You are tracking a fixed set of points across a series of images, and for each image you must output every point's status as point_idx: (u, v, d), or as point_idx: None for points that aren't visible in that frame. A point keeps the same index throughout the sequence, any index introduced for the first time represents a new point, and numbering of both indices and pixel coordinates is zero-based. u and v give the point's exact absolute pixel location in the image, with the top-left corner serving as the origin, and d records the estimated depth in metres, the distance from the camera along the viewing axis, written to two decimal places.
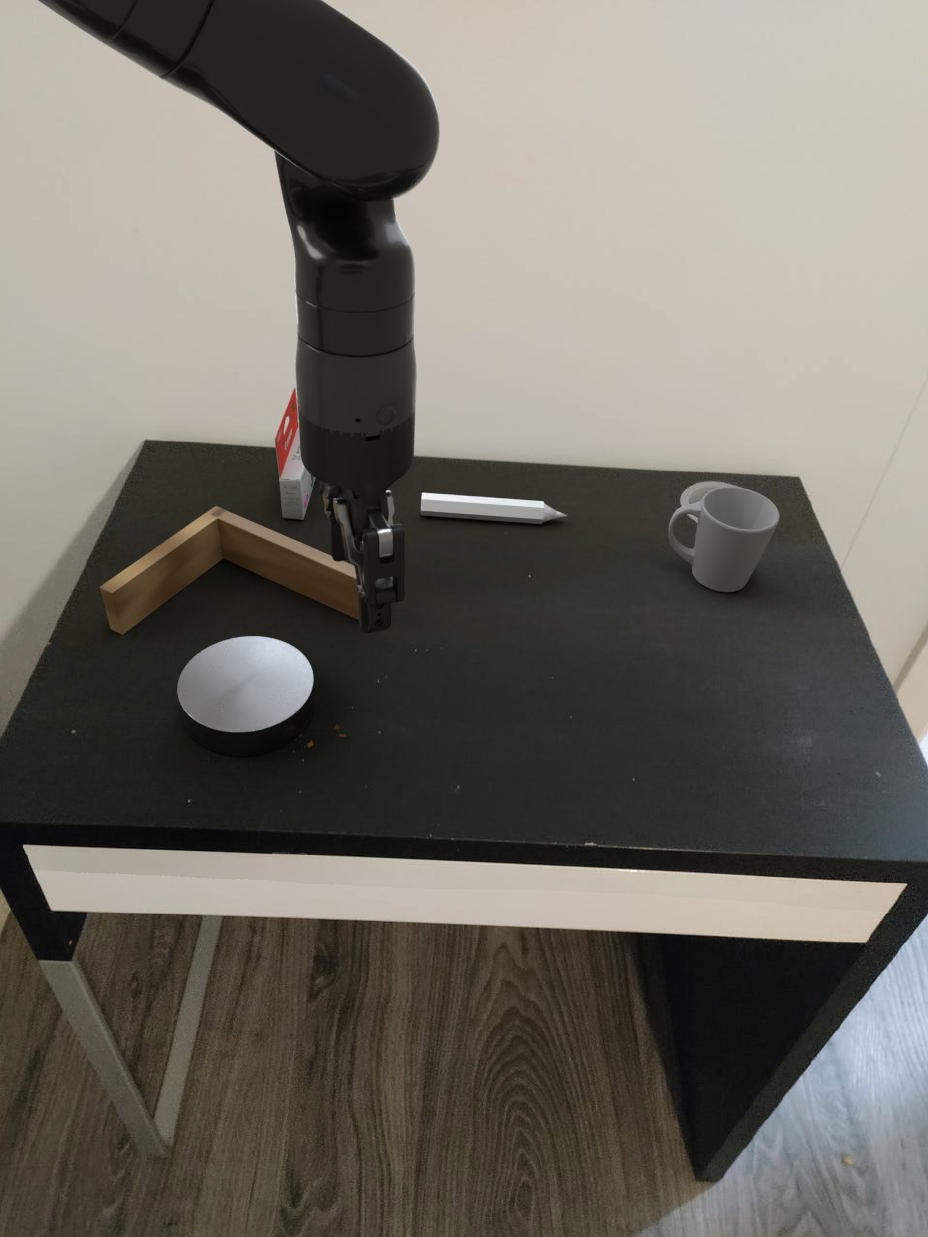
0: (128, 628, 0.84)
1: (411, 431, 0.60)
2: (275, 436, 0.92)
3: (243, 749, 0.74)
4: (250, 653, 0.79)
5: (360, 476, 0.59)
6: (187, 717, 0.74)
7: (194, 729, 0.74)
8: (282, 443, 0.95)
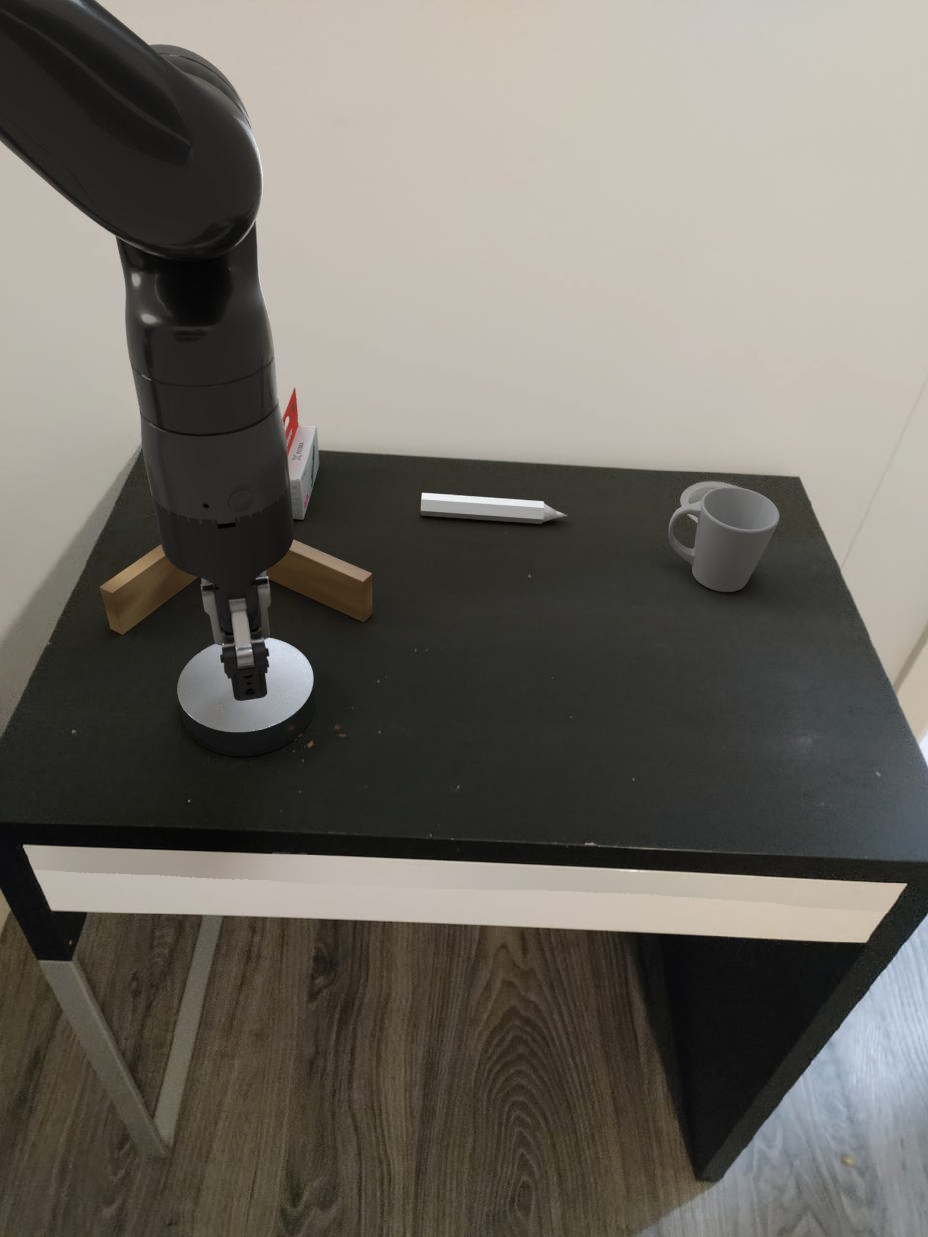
0: (128, 628, 0.84)
1: (281, 515, 0.51)
2: None
3: (243, 749, 0.74)
4: None
5: (217, 566, 0.51)
6: (187, 717, 0.74)
7: (194, 729, 0.74)
8: None
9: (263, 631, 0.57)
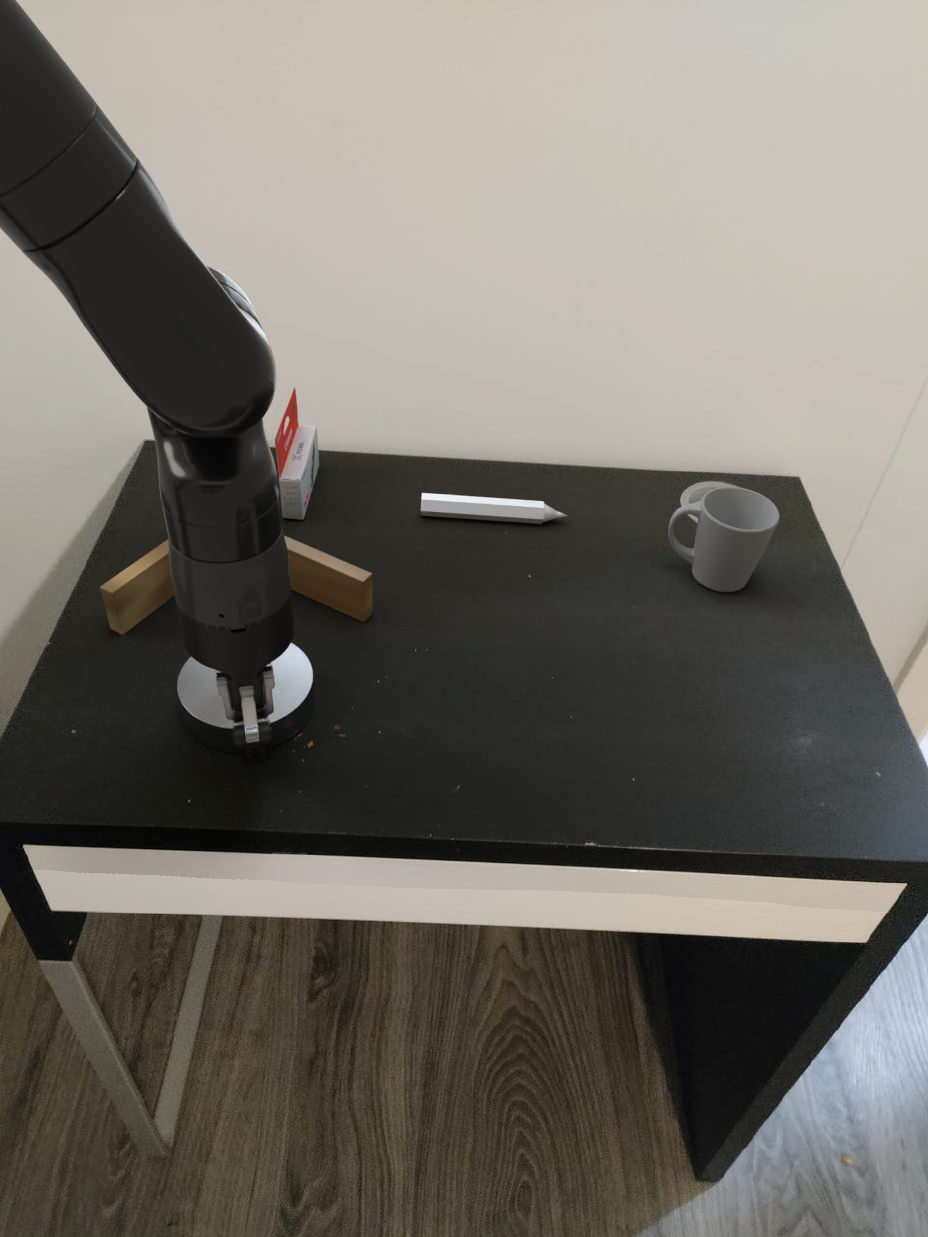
0: (128, 628, 0.84)
1: (284, 619, 0.61)
2: (275, 436, 0.92)
3: None
4: None
5: (230, 662, 0.61)
6: (187, 714, 0.74)
7: (194, 725, 0.74)
8: (282, 443, 0.95)
9: (267, 708, 0.67)
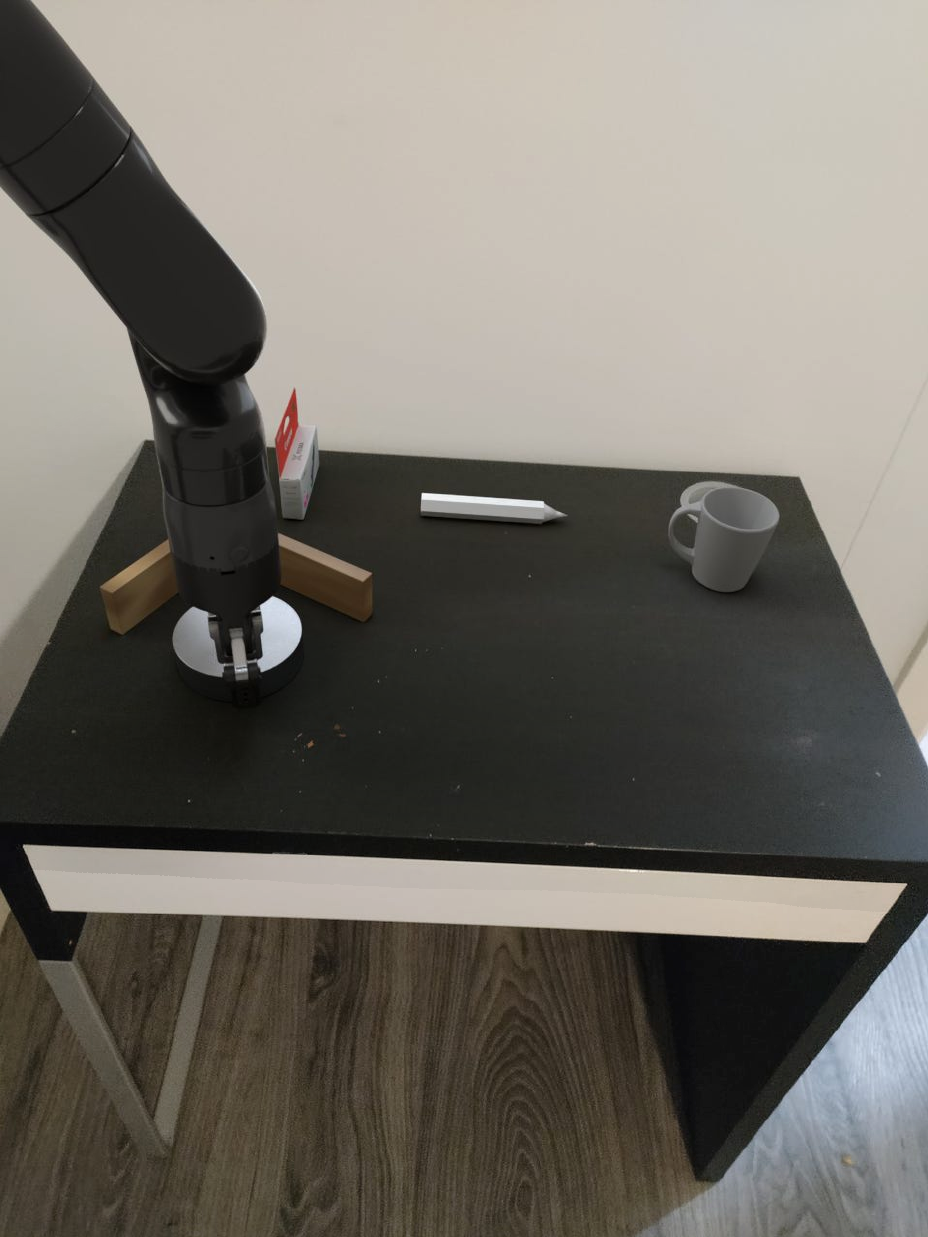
0: (128, 628, 0.84)
1: (271, 564, 0.65)
2: (275, 436, 0.92)
3: None
4: None
5: (220, 603, 0.65)
6: (182, 664, 0.78)
7: (188, 675, 0.78)
8: (282, 443, 0.95)
9: (257, 653, 0.71)
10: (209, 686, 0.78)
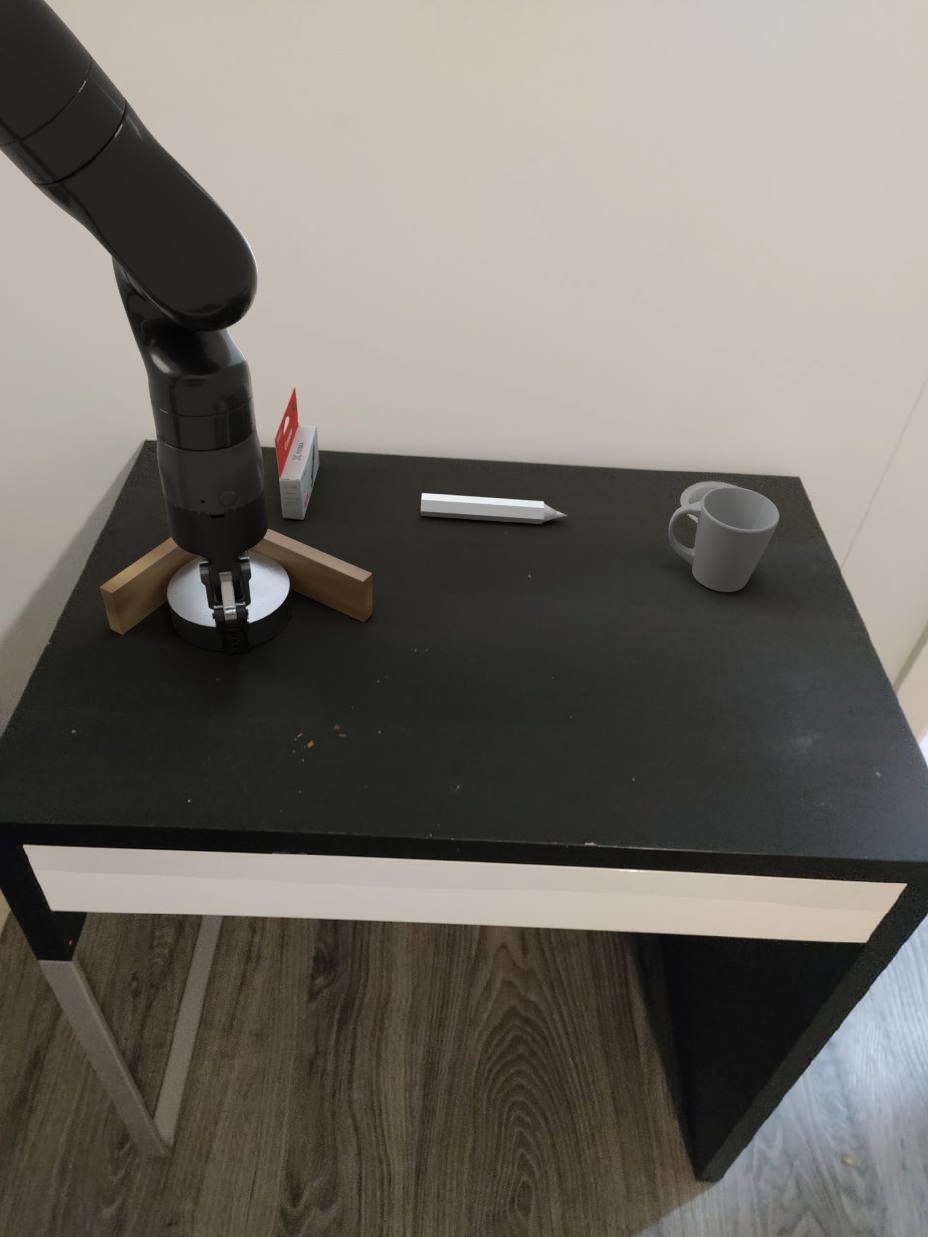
0: (128, 628, 0.84)
1: (258, 510, 0.70)
2: (275, 436, 0.92)
3: None
4: None
5: (210, 547, 0.69)
6: (175, 615, 0.83)
7: (181, 626, 0.83)
8: (282, 443, 0.95)
9: (245, 599, 0.76)
10: (201, 636, 0.82)
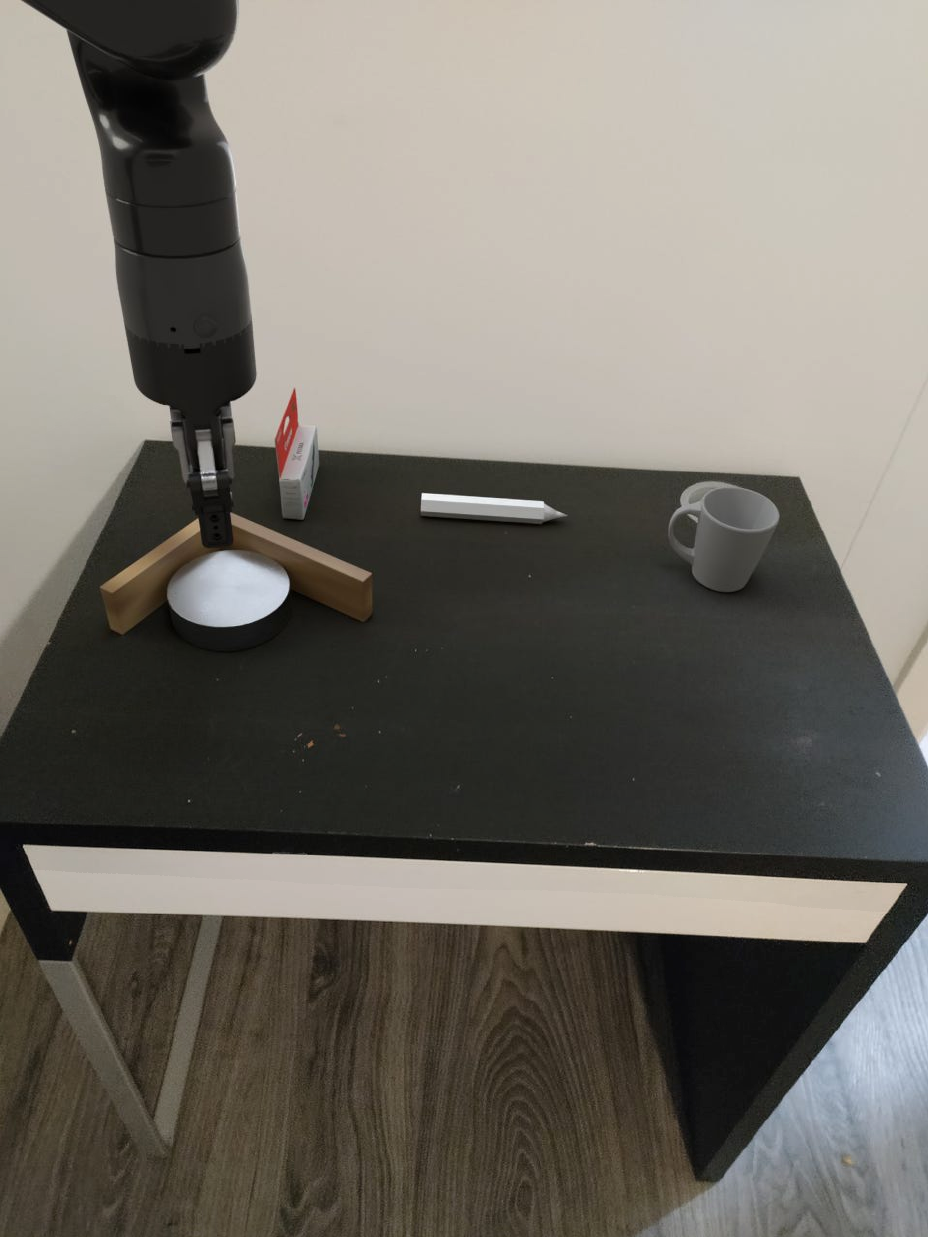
0: (128, 628, 0.84)
1: (243, 349, 0.56)
2: (275, 436, 0.92)
3: (225, 643, 0.83)
4: (234, 563, 0.88)
5: (184, 393, 0.56)
6: (175, 615, 0.83)
7: (181, 626, 0.83)
8: (282, 443, 0.95)
9: (228, 472, 0.62)
10: (201, 636, 0.82)
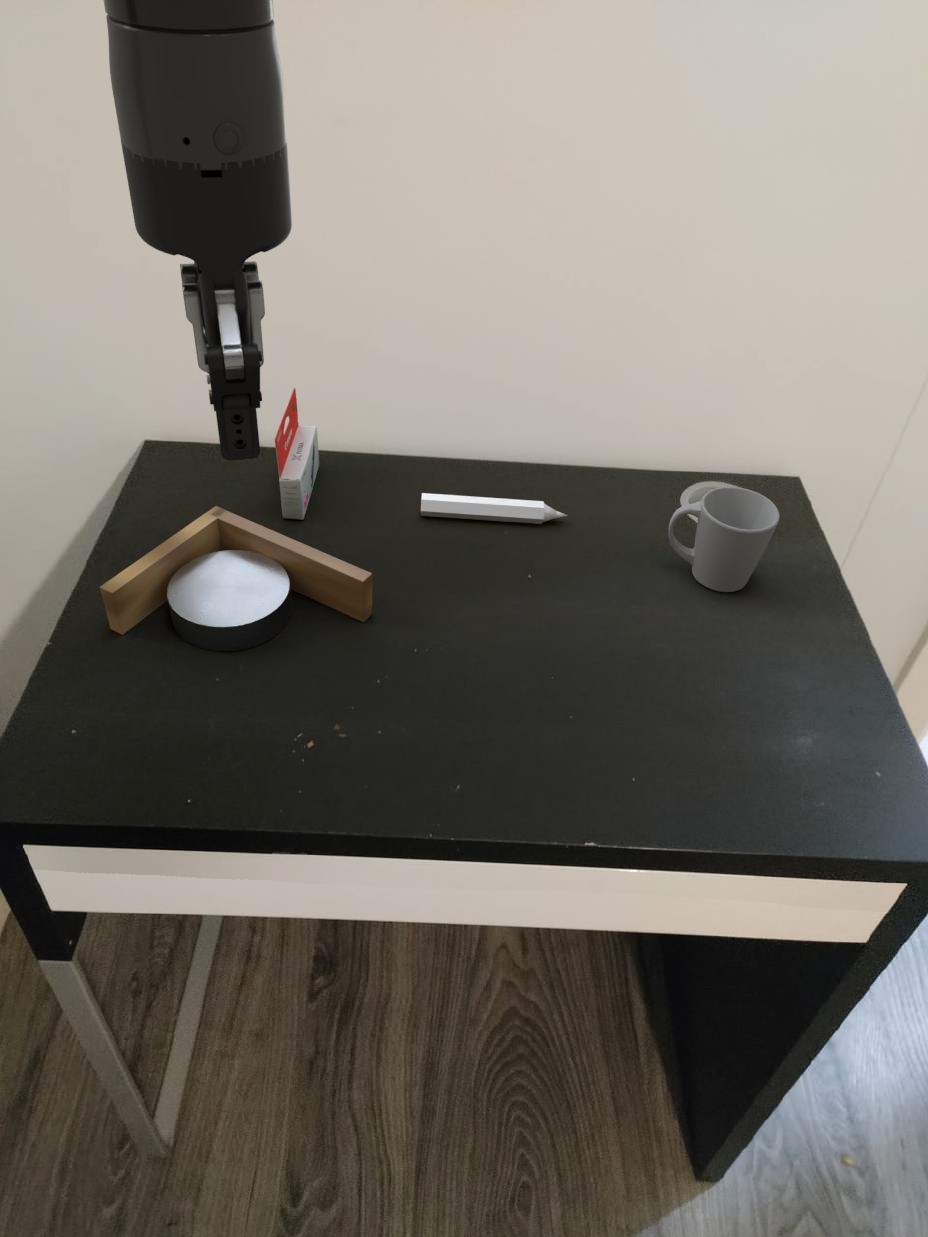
0: (128, 628, 0.84)
1: (277, 180, 0.43)
2: (275, 436, 0.92)
3: (225, 643, 0.83)
4: (234, 563, 0.88)
5: (200, 236, 0.43)
6: (175, 615, 0.83)
7: (181, 626, 0.83)
8: (282, 443, 0.95)
9: None
10: (201, 636, 0.82)
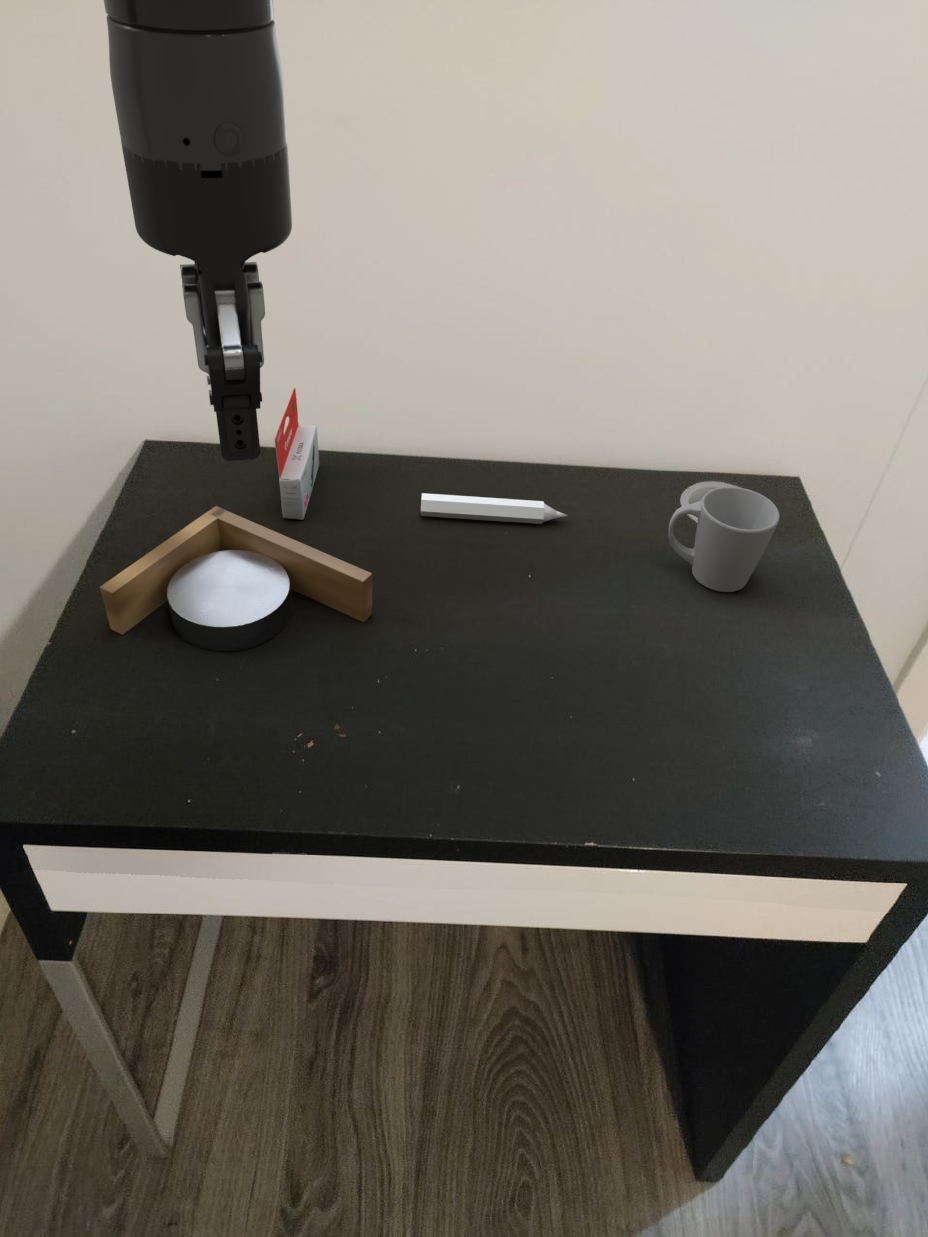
0: (128, 628, 0.84)
1: (277, 181, 0.43)
2: (275, 436, 0.92)
3: (225, 643, 0.83)
4: (234, 563, 0.88)
5: (200, 236, 0.43)
6: (175, 615, 0.83)
7: (181, 626, 0.83)
8: (282, 443, 0.95)
9: None
10: (201, 636, 0.82)
